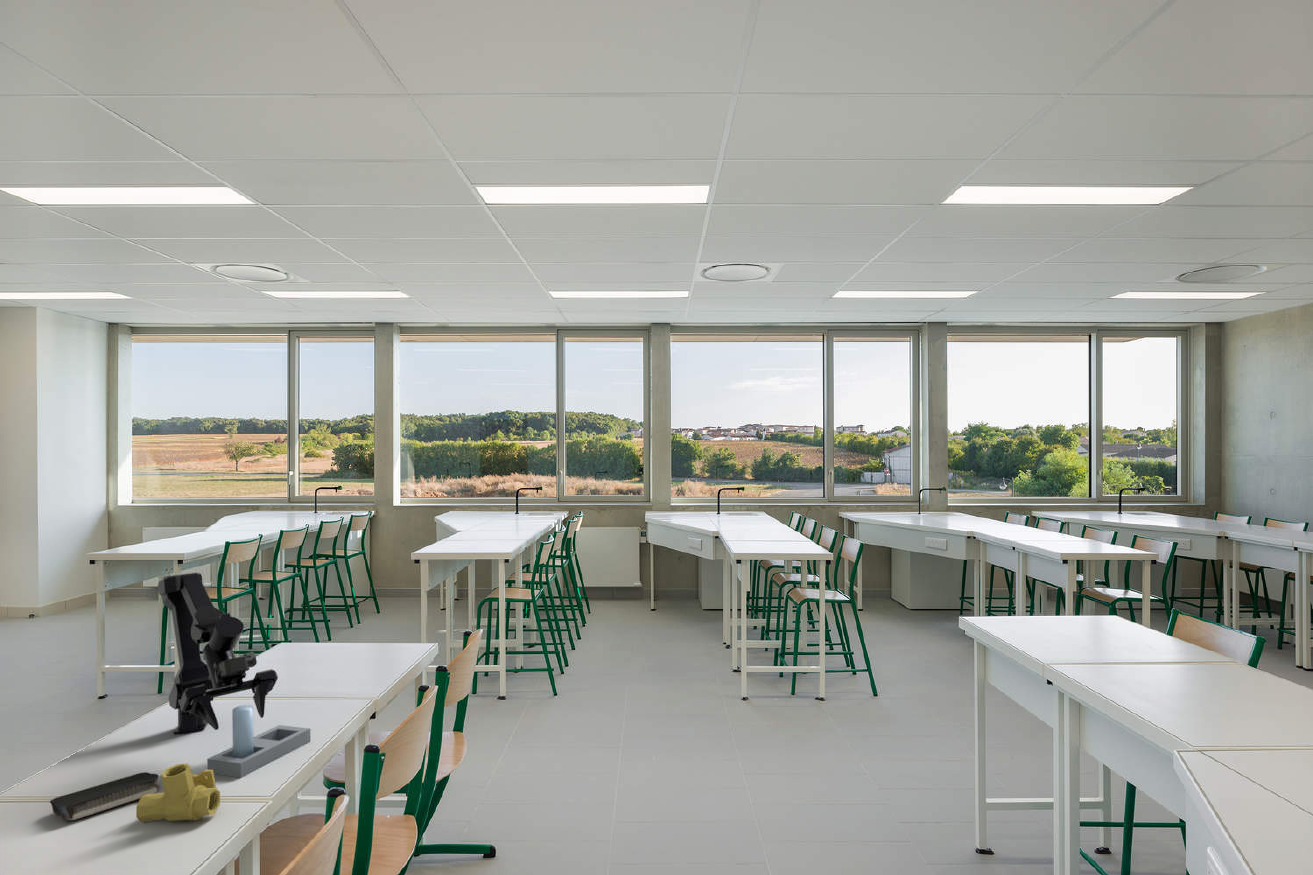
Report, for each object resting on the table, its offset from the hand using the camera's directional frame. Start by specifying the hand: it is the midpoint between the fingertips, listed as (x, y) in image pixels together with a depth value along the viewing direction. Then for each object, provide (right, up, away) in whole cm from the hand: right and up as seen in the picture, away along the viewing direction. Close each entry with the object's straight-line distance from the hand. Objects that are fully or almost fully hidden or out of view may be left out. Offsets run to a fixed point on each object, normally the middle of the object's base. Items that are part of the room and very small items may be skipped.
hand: (240, 722), depth 164 cm
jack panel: (+3, -9, +4) cm, 10 cm away
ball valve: (+2, -9, -22) cm, 24 cm away
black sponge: (-16, -10, -18) cm, 26 cm away
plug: (+1, -9, -1) cm, 9 cm away
